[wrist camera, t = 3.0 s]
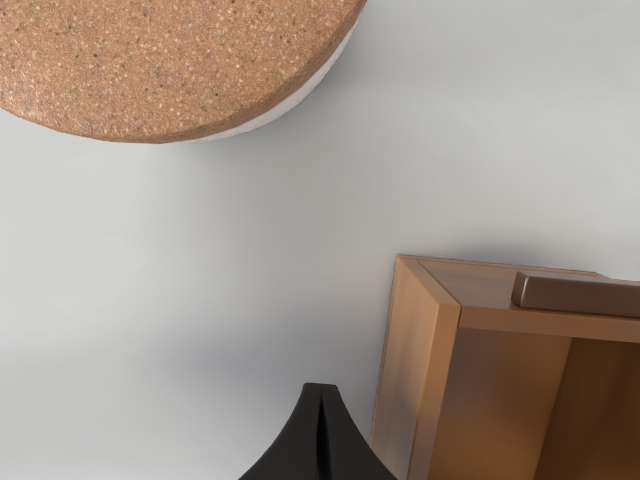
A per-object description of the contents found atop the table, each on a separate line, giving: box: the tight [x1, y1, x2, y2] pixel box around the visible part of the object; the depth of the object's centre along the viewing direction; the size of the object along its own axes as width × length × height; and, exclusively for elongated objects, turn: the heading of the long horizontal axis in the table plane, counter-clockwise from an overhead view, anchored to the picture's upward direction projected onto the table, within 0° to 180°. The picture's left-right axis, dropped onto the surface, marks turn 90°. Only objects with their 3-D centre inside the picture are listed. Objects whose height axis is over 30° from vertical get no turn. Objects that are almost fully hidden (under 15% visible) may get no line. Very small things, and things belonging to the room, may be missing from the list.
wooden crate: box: [369, 255, 640, 480], centre depth 14 cm, size 14×9×6 cm, turn 175°
